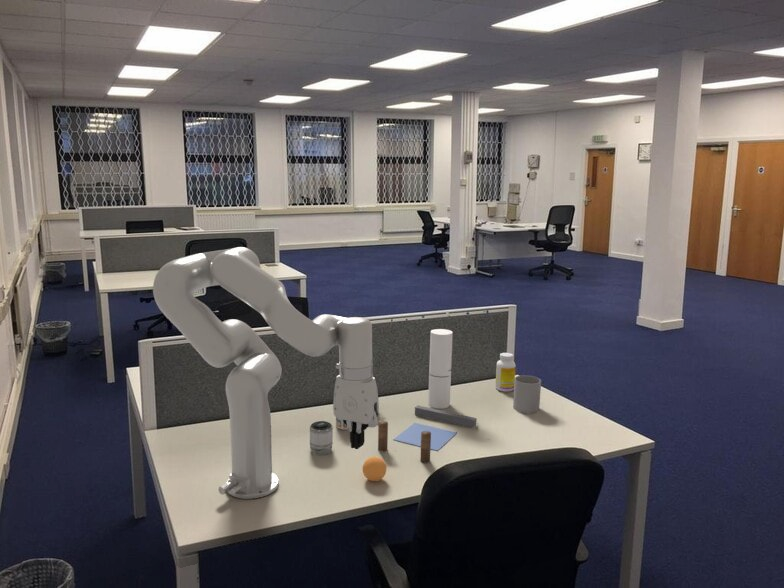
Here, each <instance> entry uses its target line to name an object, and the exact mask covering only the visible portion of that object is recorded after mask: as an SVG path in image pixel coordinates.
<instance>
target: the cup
mask: <svg viewBox="0 0 784 588" xmlns="http://www.w3.org/2000/svg"><path fill="white" fill-rule="evenodd" d="M541 388H542V379H541V378H539V377H537V376H534V375H521V374H520V375H518V376H515V384H514V390H513V403H512V407H513V409H514V410H515V411H516V412H519V413H522V414H535V413H538V412H539V411H540V403H541V391H542V389H541Z"/></svg>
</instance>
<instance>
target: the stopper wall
mask: <svg viewBox="0 0 784 588" xmlns="http://www.w3.org/2000/svg"><path fill="white" fill-rule="evenodd" d="M414 416H418V417H423V418H426V419H432V420H436V421H441V422H444V423H450V424H455V425H458V426H461V427H462V426H463V427H467V428H470V429H471V428H472V429H475V427H477V419H478V418H477V417H473V416H468V415H464V414H460V413H455V412H451V411H445V410H441V409H437V408H432V407H426V406H421V405H416V406H415V407H414Z"/></svg>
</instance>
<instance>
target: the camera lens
mask: <svg viewBox="0 0 784 588" xmlns="http://www.w3.org/2000/svg"><path fill="white" fill-rule="evenodd" d="M333 428H334V427H333V424H332V423H330V422H329V421H325V420H320V421H319V420H318V421H315V422H313V423H311V424H310V426H309V449H310V451H311V453H312V454H314V455H319V456H321V455H328V454H329V453H331V452H332V449H333V444H334V443H333V433H334V432H333Z"/></svg>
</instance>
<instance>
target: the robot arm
mask: <svg viewBox="0 0 784 588" xmlns="http://www.w3.org/2000/svg"><path fill="white" fill-rule="evenodd" d="M215 286H220V287H221V288H222V289H224V290H226V291H227V292H229V293H231V294H232V295H233V296H234V297H236V298H237V299H239V300H241V301H242V302H244V303H245V304H247V305H248V306H249V307H251V308H252V309H254V310H255V311H256V312H258V313H259V314H260V315H261V316H262V318H263V319H264V320H265V322H266V323H267V325H268V326H269V327H270V328H271V330H272V331H273V332H274V334H275V335H277V336H278V337H279V338H280V339H281V340H282V341H284V342H285V343H287V344H289V345H290V346H291V347H293V348H294V349H295V350H297V351H299V352H301V353H302V354H304V355H307V356H309V357H313V358H315V357H317V358H318V357H322V356H324V355H326V354H327V353H328V352H329V351H330V350H331V349H332V348H333V347H336V346H338V353H339V356H338V359H339V361H338V362H339V363H336V364H335V370H338V373H339V374H338V375H337V376H336V379H335V383H334V390H333V402H332V403H333V406H332V409H333V410H332V411H333V415H334V417H335V419H336V418H337V419H338V420H340V421H342V422H344V423H345V425H346V426H347V429H348V430H347V431H348V432H349V441H350V442H349V443H350V449H355V450H358V449H360V448H361V447H362V446H364V444H365V439H366V438H365V431H366V429H367V428H375V427H378V423H379V421H378V418H379V414H380V407H379V406H380V402H379V401H380V400H379V392H378V386H377V382H376V378H375V377H374V374H373V325H372V322H371V320H369V319H368V318H365V317H359V316H353V317H344V316H338V315H335V314H328V313H326V314H325V313H324V314H320V315H318V316H316V317H314V319H310V318H309V317H307V316H306V315H304V314H303V313H302V312H300V311H299V310H298V309H296V308H295V306H293V304H292V303H291V302H290V300H289V298H288V294H287V292H286V287H285V284H284V283H283V282H282V281H281V280H279V279H277V278H276V277H274V276H273V275H271V274H270V273H268V272H267V271H265V270H263V269H262V268H261V263H260V259H259V257H258V255H257V253H255V252H254V251H253V250H252V249H250V248H248V247H244V246H237V247H232V248H227V249H219V250H214V251H212V250H211V251H206V252H200V253H195V254H194V253H193V254H191V255H187V256H183V257H180V258H176V259H173V260H170V261H169V262H167V263H165V264H163V266H162V267H161V268H160V269H159V270H158V272H156V275H155V277H154V279H153V285H152V294H153V297H154V301H155V303H156V305H157V307H158V309H159V310H160V312H161V313H162V314H163V315H164V316H165V317H166V319H167V320H168V321H170V323H171V324H173V326H175V328H177V330H178V331H179V332H180V333H181V334H182V336H184V338H185V339H186V341H188V342H189V344H190V345H191V346H192V347H193V348H194V349H195V350H196V352H198V354H199V355H200V356H201V357H202V359H203V360H204V361H205V362H206V363H207V364H208V365H210V366H212V367H214V368H219V369H220V368H224V367H228V366H229V365H230V364H232V363H234V364H235V365H236V366H235V367H234V368H233V369H232V370H231V372H230V373H229V375H228V376H227V378H226V381H225V395H226V399H227V404H228V411H229V412H228V413H229V426H230V427H229V428H230V448H231V449H230V452H231V453H230V455H231V473H229V475H228V480H227V481H226V483H224V484H222V485H221V486H219V487H218V493H219V494H220V495H225V494H226V493H227V494H229V495H230V496H232V497H234V498H237V499H244V500H252V499H253V498H254V499H259V497H260V498H263V497H266V496H268V495H270V494H272V493H274V492H275V491H276V490H277V489H278V487H279V485H280V483H279V477H278V476H277V474H275V473H273V459H272V458H273V455H272V453H273V450H272V417H271V415H272V414H271V409H270V408H271V407H270V404H269V400H268V393H269V392H270V391H271V390H272V389H273V387H275V386H276V385H277V384H278V382H279V380H280V379H281V377H282V365H281V362H280V360H279V359H278V357H277V355H275V353H274V352H273V351H272V350H271V349H270V347H268V345H267V344H266V343H265V342H264V341H263V339H262V338H260V336H259V334H257V332H256V331H255V330H254V329H253V328H252V327H251V326H249V324H247V323H246V322H244V321H242V320H239V319H235V318H234V319H233V318H231V319H230V318H229V319H227V320H226V319H225V320H224V321H222V320H221V319H220V318H219V317H217V315H215V313H214V312H213V311H212V310H211V308H210V307H209V306H208V305H206V304H205V303H204V302H202V301H201V300H199V299H198V298H196V297H195V296H194V293H195V292H197V291H200V290H203V289H206V288H209V287H215Z"/></svg>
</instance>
